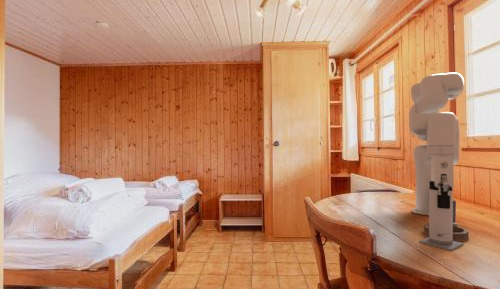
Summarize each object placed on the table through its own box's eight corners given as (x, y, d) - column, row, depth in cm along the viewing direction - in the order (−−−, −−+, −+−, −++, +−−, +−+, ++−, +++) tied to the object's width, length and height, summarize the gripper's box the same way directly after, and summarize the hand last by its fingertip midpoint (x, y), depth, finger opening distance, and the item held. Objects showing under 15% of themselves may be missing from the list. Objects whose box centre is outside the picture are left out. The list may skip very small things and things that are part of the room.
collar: (434, 227, 109) (434, 219, 109) (474, 236, 99) (474, 226, 99) (417, 234, 102) (417, 224, 102) (458, 244, 91) (458, 233, 91)
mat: (432, 237, 98) (432, 235, 98) (463, 245, 91) (463, 243, 91) (419, 242, 93) (419, 240, 93) (451, 251, 85) (451, 249, 85)
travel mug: (443, 246, 88) (443, 180, 88) (424, 239, 94) (424, 178, 94) (458, 244, 90) (458, 179, 90) (438, 237, 96) (438, 177, 96)
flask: (444, 228, 109) (444, 197, 109) (435, 226, 111) (435, 196, 111) (457, 224, 114) (457, 195, 114) (448, 223, 116) (448, 194, 117)
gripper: (461, 152, 82) (461, 212, 83) (449, 150, 98) (449, 200, 98) (431, 152, 86) (430, 210, 86) (424, 150, 101) (423, 198, 102)
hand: (440, 204), depth 92 cm, fingers open, 9 cm apart
